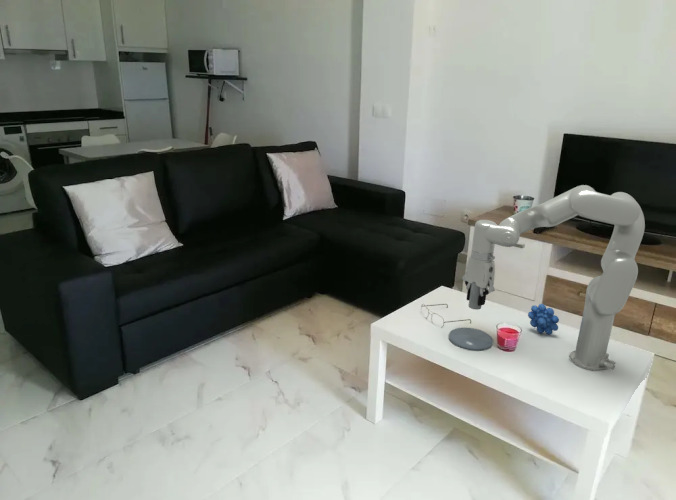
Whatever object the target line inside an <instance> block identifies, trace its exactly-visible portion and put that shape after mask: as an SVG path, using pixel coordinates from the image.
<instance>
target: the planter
mask: <svg viewBox="0 0 676 500" xmlns="http://www.w3.org/2000/svg"><path fill="white" fill-rule="evenodd" d="M479 295H480V287H478V286H476V283H475V282H472V284H471V291H470V298H469V300H468V308H469V309H472V310H481V309H482V305H481V306H478V305H477V304H478V297H479Z"/></svg>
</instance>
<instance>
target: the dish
mask: <svg viewBox="0 0 676 500" xmlns="http://www.w3.org/2000/svg"><path fill="white" fill-rule="evenodd" d="M448 339H449V341H450V343H451V344H452V345H454V346H456V347H458V348H460V349H462V350H467V351H473V352H481V351H486V350H489V349H491V348H492V346H493V344H494V339H493V337H492V336H491V335H490V334H489V333H487V332H486V331H483V330H481V329H477V328H473V327H465V326H464V327H456V328H454V329H452V330H450V332H449V334H448Z"/></svg>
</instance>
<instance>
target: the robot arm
mask: <svg viewBox="0 0 676 500" xmlns="http://www.w3.org/2000/svg"><path fill="white" fill-rule="evenodd" d="M577 216H579V217H582V218H585V219H589V220H593V221H595V222H596V221H598V222H601V223H606V224H610V225H614V227H613V231H612V234H611V237H610V240H609V242H608V244H607V247H606V249H605V251H604V252H603V255H602V257H601V260H600V266H601V268H602V271H603V272H602V274H601V275H597V276H595V277H593V278H592V279H591V280H590V281H589V282H588V285H587V288H586V291H585V292H586V293H585V299H584V300H585V301H584V307H583V311H582V317H581V322H580V326H579V327H580V328H579V332H578V338H577V341H576V347H575V350H572V351H570V352H569V355H568V357H569V360H570V361H571V362H572V363H573V364H575V365H576V366H577V367H580V368H583V369H585V370H589V371H598V372H599V371H605V370H607V369H608V370H609V369H610V370H611V371H614V369H615V368H616V361H615V360H611V359H610V358H609V357H610V354H609V353H607V351H608V347H609V342H610V339H611V333H612V331H613V325H614V322H615V316H616V314H618V313H620V311H621V310H623V308H624V307H625V305H626V303H627V301H628V299H629V297H630V294H631V292H632V291H633V288H634V285H635V284H636V281H637V279H638V274H639V268H638V264H637V262H636V260H635V258H636V256H637V253H638V251H639V248H640V246H641V245H640V244H641V242H642V240H643V236H644V233H645V228H646V224H645V216H644V212H643V210H642V208H641V206H640V204H639V203H638V201H636V199H635V198H634V197H633V196H632V195H630V194H628V193H626V192H623V191H617V192H614V193H612V194H610V195H609V194H606V193H601V192H598V191H596V190H595V188H594V187H591V186H590V185H587V184H585V185H584V184H581V185H577V186H576V187H573V188H571V189H569V190H567V191H564V192H563V193H561V194H559V195H556V196H554V197H553V198H550V199H548V200H546V201H544V202H543V203H540V204H537V205H534V206H532V207H529V208H525V209H523V210H521V211H519V212H517V213H515V214H513V215H510V216H508V217H506V218H504V219H503V220H502V221H501V222H500V223H499V224H497V223H496V222H495V221H493V220H489V219H479V220H477V221H476V222H475V225H474V229H473V237H472V244H471V245H472V246H471V250H470V251H471V252H470V255H469V257H468V260H467V265H466V269H465V273H464V274H463V275H462V278H461V279H462V281H463V282H464V285H465V286H466V291H467V293H466V301H469V298H470V291H471V284H472V282H475V283H476V286H478V287H480V295H479V297H478V304H477V305H478V306H481V307H482V306H484V305H485V303H486V299H487V298H486V297H487V296H488V295H489V294H491V293H493V292H495V291H496V290H495V287H494V283H495V276H496V275H495V274H496V273H495V272H496V267H495V266H496V265H495V261H494V260H495V259H496V256H494V251H495V246H496V245H498V246H501V247H505V248H511V247H514V246H516V245H517V244H518V243H519V240H520V235H522V234H524V233H527V232H529V231H531V230H534V229H537V228H544V227H545V228H551V227H555V226H558V225H560V224H562V223H563V222H566V221H569V220H570V219H573V218H574V217H577Z"/></svg>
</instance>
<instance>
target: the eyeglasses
mask: <svg viewBox="0 0 676 500" xmlns="http://www.w3.org/2000/svg"><path fill="white" fill-rule="evenodd" d="M420 306H421V307H420V309H422V308H423V307H424V306H425V308H426V309H427V310H428V313H427V316H426V318H428V317H429V316H430V315H431V314H432V315H433V314H434V315H437V316H439V317H441V318H442V316H441V315H439V314H438V313H435V312H433V311H431V312H430V309H429V308H428V307H432V306H433V307H434V306H435V307H436V304H429V305H428V304H427V305H425V304H424V303H423V304H421V305H420ZM437 306H446V308H448V307H449V305H448V303H439V304H437ZM442 320H443V325H442V326H441V327H440V328H441V329H442V328H443V327H444V326H445V323H453V322H454V323H455V322H465V321H469V324H472V319H469V318H467V319H459V320H458V319H457V320H450V321H449V320H448V321H445V320H444V318H442ZM431 323H432V324H434V323H433V316H431Z"/></svg>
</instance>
